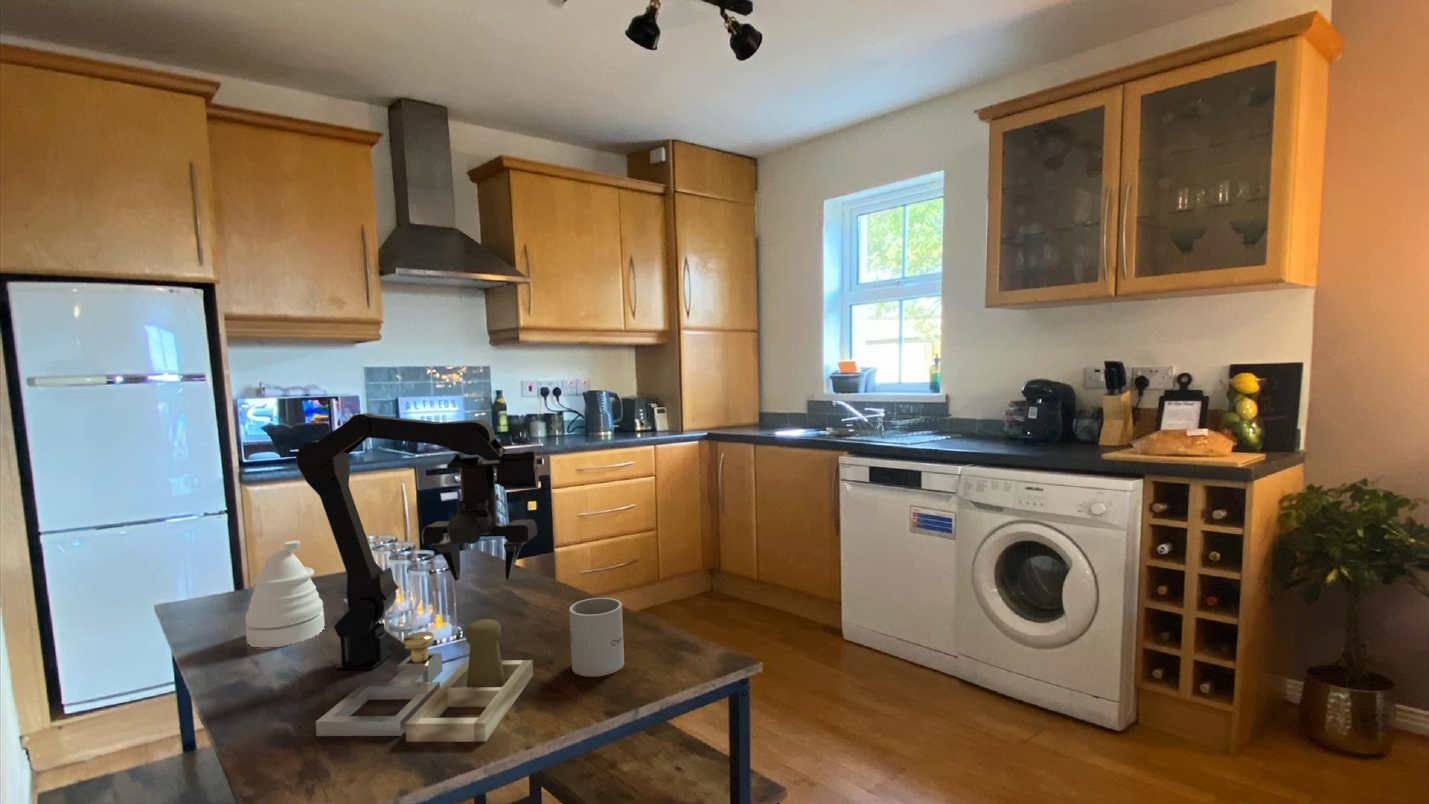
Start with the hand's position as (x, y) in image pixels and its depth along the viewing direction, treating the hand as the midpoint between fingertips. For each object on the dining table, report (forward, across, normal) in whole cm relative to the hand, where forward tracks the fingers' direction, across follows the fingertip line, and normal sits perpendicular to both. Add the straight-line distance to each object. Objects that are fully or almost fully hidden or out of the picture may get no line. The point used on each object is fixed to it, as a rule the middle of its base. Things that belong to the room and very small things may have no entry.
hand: (482, 579), depth 123 cm
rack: (+13, +6, -20) cm, 24 cm away
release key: (+12, -7, -10) cm, 17 cm away
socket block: (+13, -7, -18) cm, 23 cm away
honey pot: (+13, -43, +9) cm, 46 cm away
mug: (+13, +22, -4) cm, 26 cm away
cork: (+13, +6, -15) cm, 21 cm away
